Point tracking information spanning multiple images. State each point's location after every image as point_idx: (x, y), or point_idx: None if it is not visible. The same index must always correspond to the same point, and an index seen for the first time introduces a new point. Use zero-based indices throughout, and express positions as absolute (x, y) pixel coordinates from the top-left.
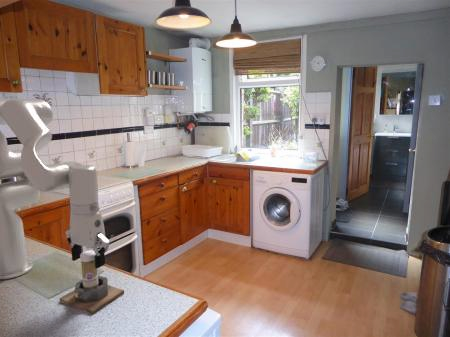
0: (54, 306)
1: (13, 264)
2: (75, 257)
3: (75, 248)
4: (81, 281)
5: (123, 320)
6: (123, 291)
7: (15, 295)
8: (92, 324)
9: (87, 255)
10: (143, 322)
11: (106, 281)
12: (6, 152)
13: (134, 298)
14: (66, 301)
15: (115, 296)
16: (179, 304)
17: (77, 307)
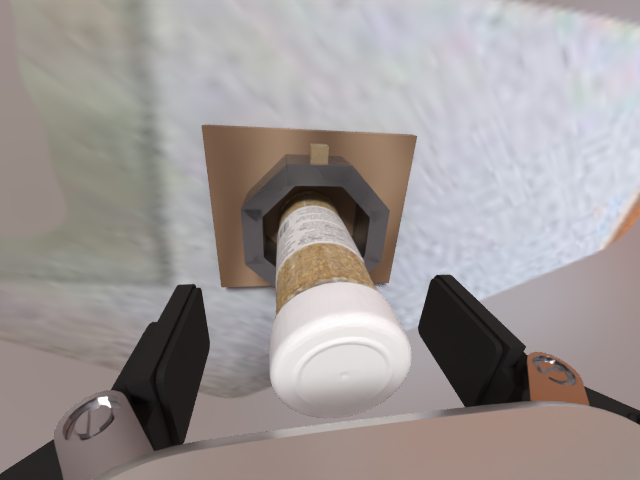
0: (236, 302)
1: None
2: (204, 353)
3: (178, 430)
4: (255, 245)
5: (487, 257)
6: (414, 139)
7: (37, 325)
8: (412, 303)
9: (376, 402)
10: (546, 239)
11: (370, 193)
12: None
13: (469, 147)
14: (260, 285)
15: (406, 186)
16: None
17: None
